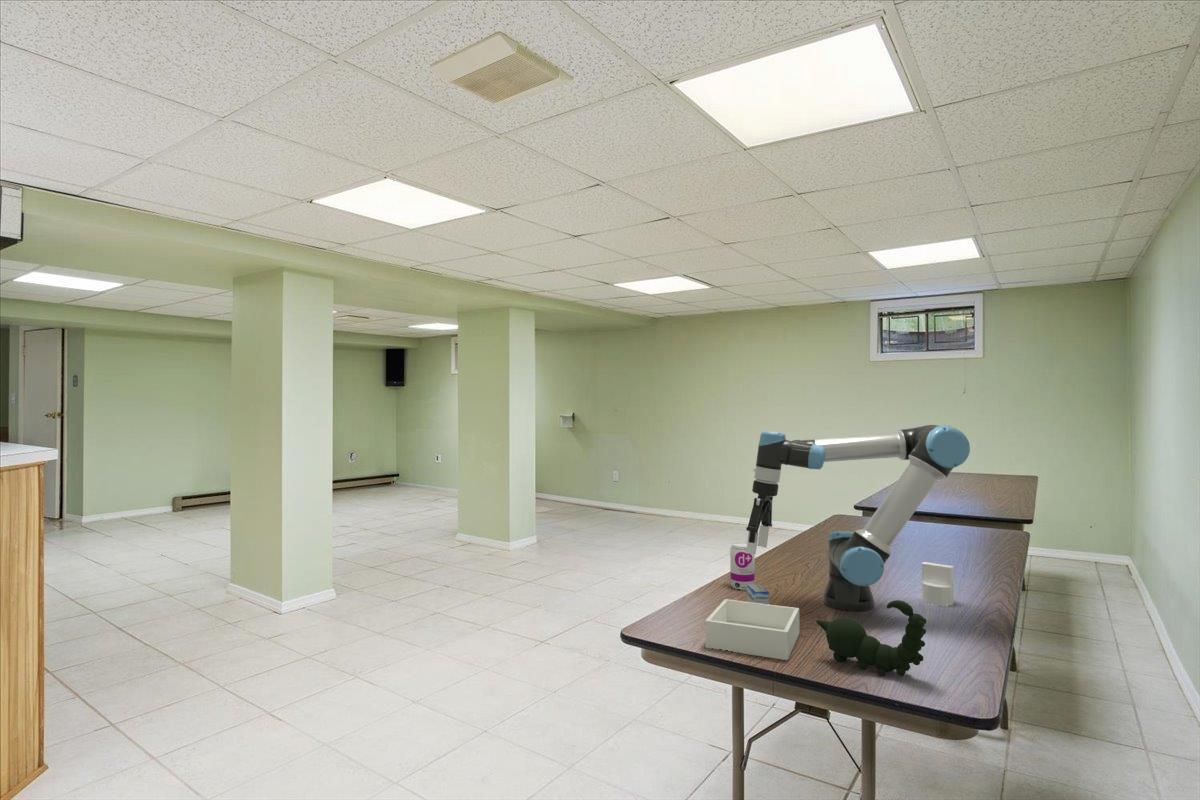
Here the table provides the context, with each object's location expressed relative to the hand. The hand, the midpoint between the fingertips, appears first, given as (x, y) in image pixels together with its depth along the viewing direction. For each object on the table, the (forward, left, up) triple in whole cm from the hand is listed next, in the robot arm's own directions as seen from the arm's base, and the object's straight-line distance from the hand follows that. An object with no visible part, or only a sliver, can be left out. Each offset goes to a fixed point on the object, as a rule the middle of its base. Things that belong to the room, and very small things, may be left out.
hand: (756, 549), depth 198 cm
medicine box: (-1, +3, -20) cm, 20 cm away
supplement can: (+10, -26, -20) cm, 34 cm away
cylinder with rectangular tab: (-51, -35, -20) cm, 65 cm away
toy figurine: (-33, +31, -20) cm, 49 cm away
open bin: (-4, +24, -19) cm, 31 cm away
